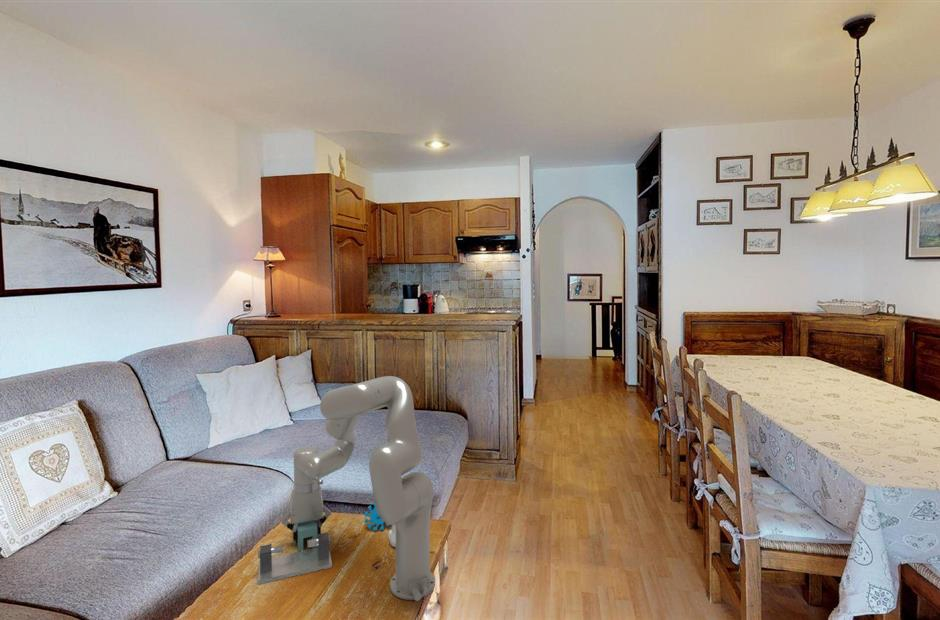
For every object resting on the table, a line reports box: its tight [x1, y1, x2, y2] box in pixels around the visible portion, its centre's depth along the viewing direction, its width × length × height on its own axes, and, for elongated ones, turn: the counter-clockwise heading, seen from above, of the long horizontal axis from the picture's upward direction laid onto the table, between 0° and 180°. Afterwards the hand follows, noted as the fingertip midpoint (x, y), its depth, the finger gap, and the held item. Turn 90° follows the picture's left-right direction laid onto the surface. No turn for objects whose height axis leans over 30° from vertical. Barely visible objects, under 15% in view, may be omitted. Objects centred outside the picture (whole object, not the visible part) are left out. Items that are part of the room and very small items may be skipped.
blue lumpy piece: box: [363, 501, 390, 532], centre depth 157 cm, size 11×6×10 cm
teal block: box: [297, 520, 318, 552], centre depth 146 cm, size 6×9×6 cm, turn 23°
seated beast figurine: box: [387, 525, 396, 548], centre depth 146 cm, size 10×9×12 cm
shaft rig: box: [257, 531, 333, 585], centre depth 133 cm, size 10×20×7 cm, turn 114°
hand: (307, 539), depth 146 cm, fingers closed on teal block, 5 cm apart
